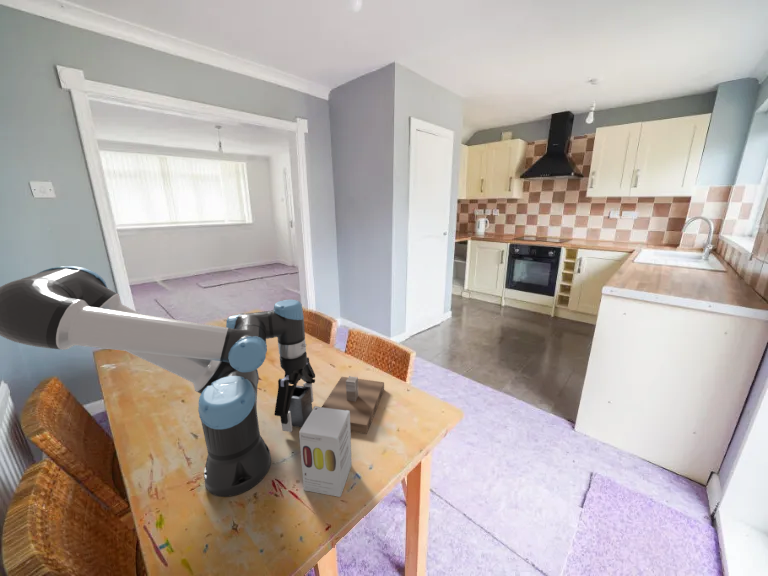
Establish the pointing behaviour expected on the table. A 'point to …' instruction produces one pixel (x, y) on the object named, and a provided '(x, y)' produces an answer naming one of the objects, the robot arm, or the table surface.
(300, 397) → the hollow square tube
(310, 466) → the supplement box
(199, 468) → the table surface
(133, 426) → the table surface
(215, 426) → the robot arm
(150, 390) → the table surface
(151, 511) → the table surface
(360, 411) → the tang block
